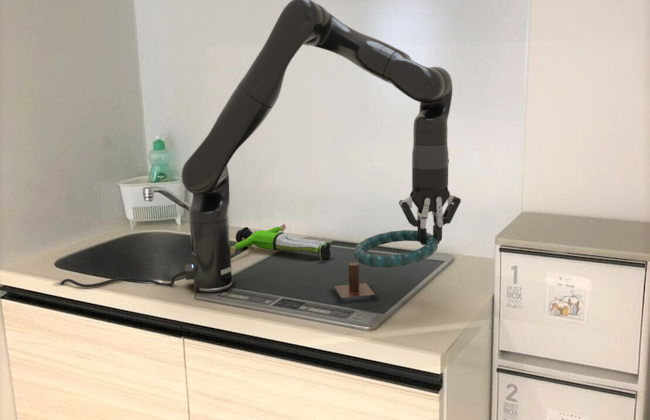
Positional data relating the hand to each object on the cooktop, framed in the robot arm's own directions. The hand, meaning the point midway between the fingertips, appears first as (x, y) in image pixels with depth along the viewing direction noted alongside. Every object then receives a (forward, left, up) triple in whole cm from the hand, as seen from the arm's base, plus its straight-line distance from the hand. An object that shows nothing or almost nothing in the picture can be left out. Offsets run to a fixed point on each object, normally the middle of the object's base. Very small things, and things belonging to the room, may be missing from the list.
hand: (429, 243), depth 148 cm
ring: (-8, 0, 0) cm, 8 cm away
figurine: (-26, +50, -15) cm, 58 cm away
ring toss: (-14, +13, -15) cm, 24 cm away
